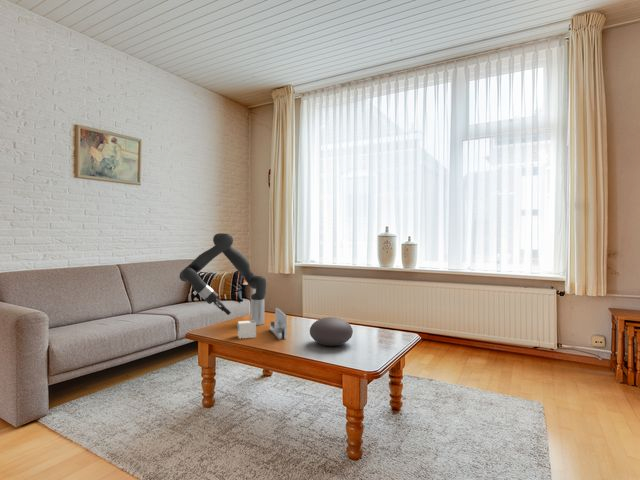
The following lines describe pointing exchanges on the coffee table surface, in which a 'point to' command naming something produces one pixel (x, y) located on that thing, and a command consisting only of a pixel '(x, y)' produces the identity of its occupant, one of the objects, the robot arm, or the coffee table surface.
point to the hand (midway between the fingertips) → (229, 313)
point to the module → (246, 329)
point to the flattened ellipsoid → (331, 331)
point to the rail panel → (279, 324)
